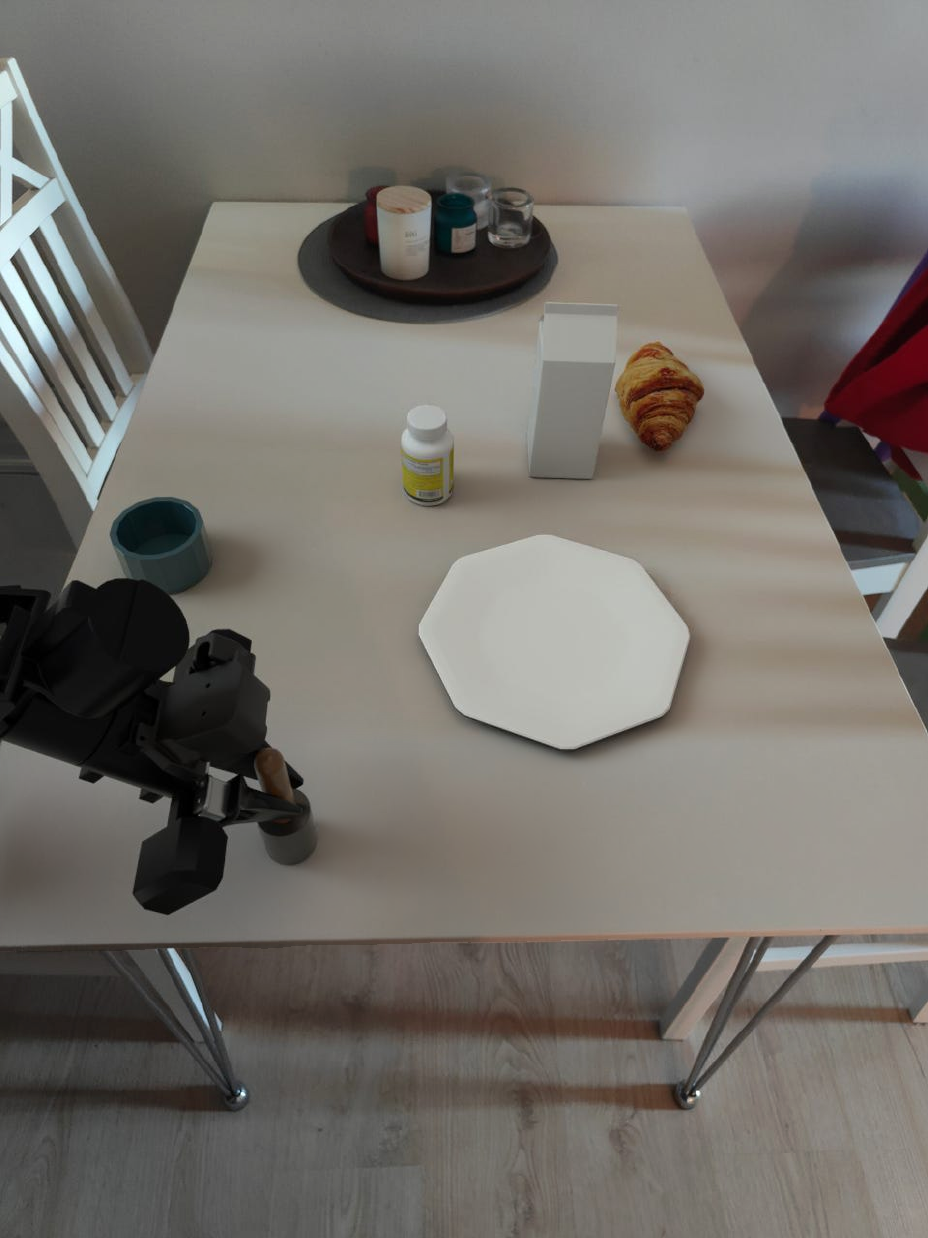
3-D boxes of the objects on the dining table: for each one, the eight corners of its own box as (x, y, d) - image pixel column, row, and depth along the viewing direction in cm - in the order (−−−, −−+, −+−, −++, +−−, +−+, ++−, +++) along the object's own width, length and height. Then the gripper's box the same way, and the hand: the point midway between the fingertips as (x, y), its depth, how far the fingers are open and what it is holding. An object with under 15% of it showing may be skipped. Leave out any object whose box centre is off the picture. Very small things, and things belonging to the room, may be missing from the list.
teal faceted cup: (117, 596, 81) (101, 560, 77) (133, 534, 87) (119, 497, 83) (206, 594, 82) (195, 558, 78) (217, 532, 87) (207, 495, 83)
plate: (390, 587, 83) (390, 576, 82) (601, 525, 90) (604, 514, 88) (490, 787, 70) (491, 779, 68) (730, 697, 76) (735, 688, 75)
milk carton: (592, 480, 94) (623, 325, 80) (528, 478, 94) (547, 322, 79) (587, 439, 99) (615, 285, 84) (526, 437, 99) (543, 283, 84)
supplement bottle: (429, 467, 95) (429, 393, 87) (463, 491, 92) (466, 417, 85) (392, 489, 92) (389, 415, 85) (426, 514, 90) (426, 441, 82)
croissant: (624, 378, 112) (604, 327, 107) (700, 352, 108) (683, 298, 103) (629, 483, 98) (607, 430, 93) (717, 457, 95) (699, 400, 89)
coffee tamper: (263, 866, 65) (232, 783, 55) (267, 818, 67) (239, 730, 57) (316, 864, 65) (295, 781, 55) (318, 816, 68) (299, 728, 58)
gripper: (138, 814, 42) (374, 891, 51) (192, 543, 54) (375, 645, 63) (31, 885, 47) (261, 942, 57) (101, 625, 59) (282, 708, 68)
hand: (299, 799), depth 61 cm, fingers closed on coffee tamper, 2 cm apart
